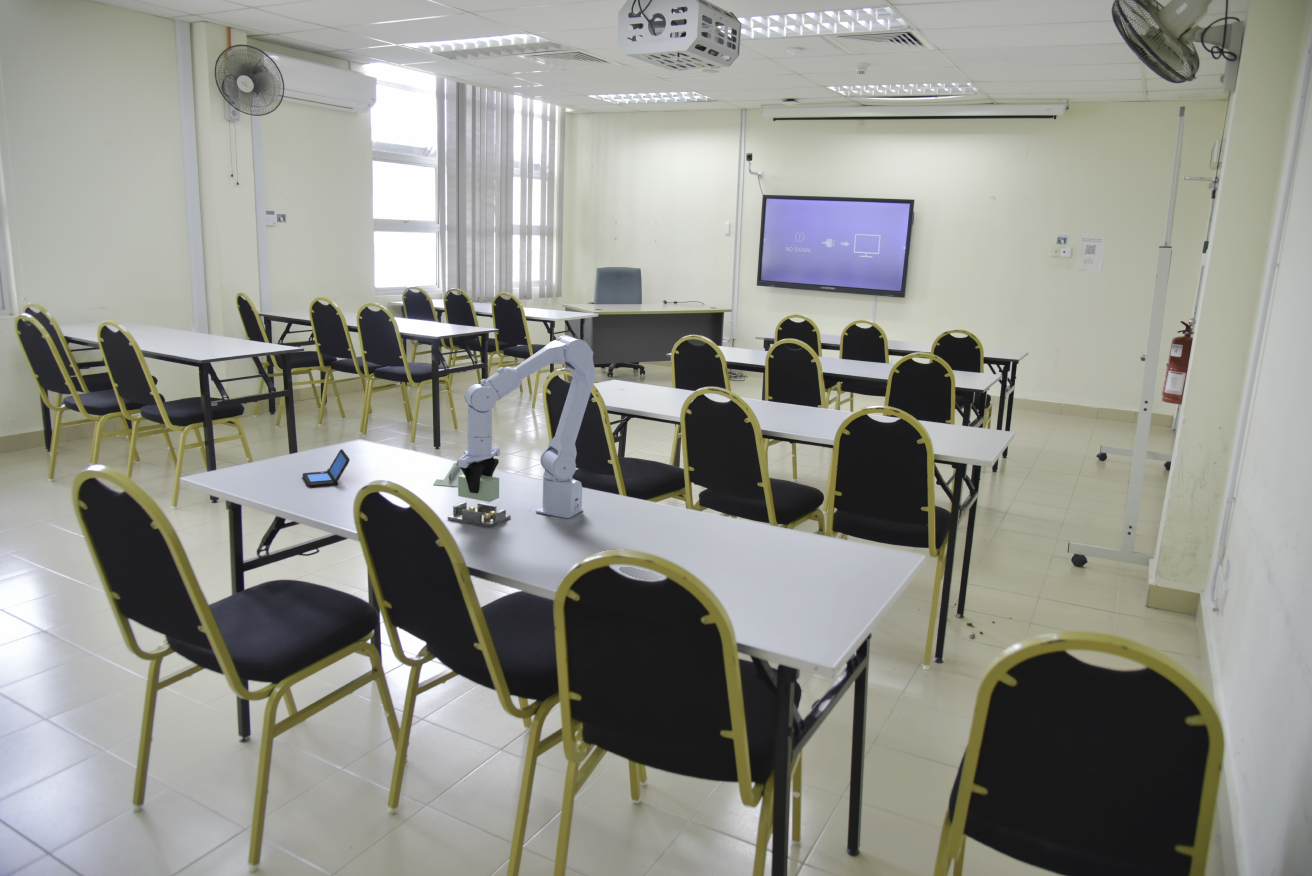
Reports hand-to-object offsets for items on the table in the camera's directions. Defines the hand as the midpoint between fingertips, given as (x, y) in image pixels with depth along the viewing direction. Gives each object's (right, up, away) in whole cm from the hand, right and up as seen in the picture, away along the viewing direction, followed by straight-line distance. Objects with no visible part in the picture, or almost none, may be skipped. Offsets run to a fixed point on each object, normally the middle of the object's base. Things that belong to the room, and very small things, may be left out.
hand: (479, 490), depth 206 cm
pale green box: (0, -2, 0) cm, 2 cm away
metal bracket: (-10, 0, +33) cm, 34 cm away
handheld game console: (-47, +1, +27) cm, 55 cm away
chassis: (0, -7, +2) cm, 7 cm away
